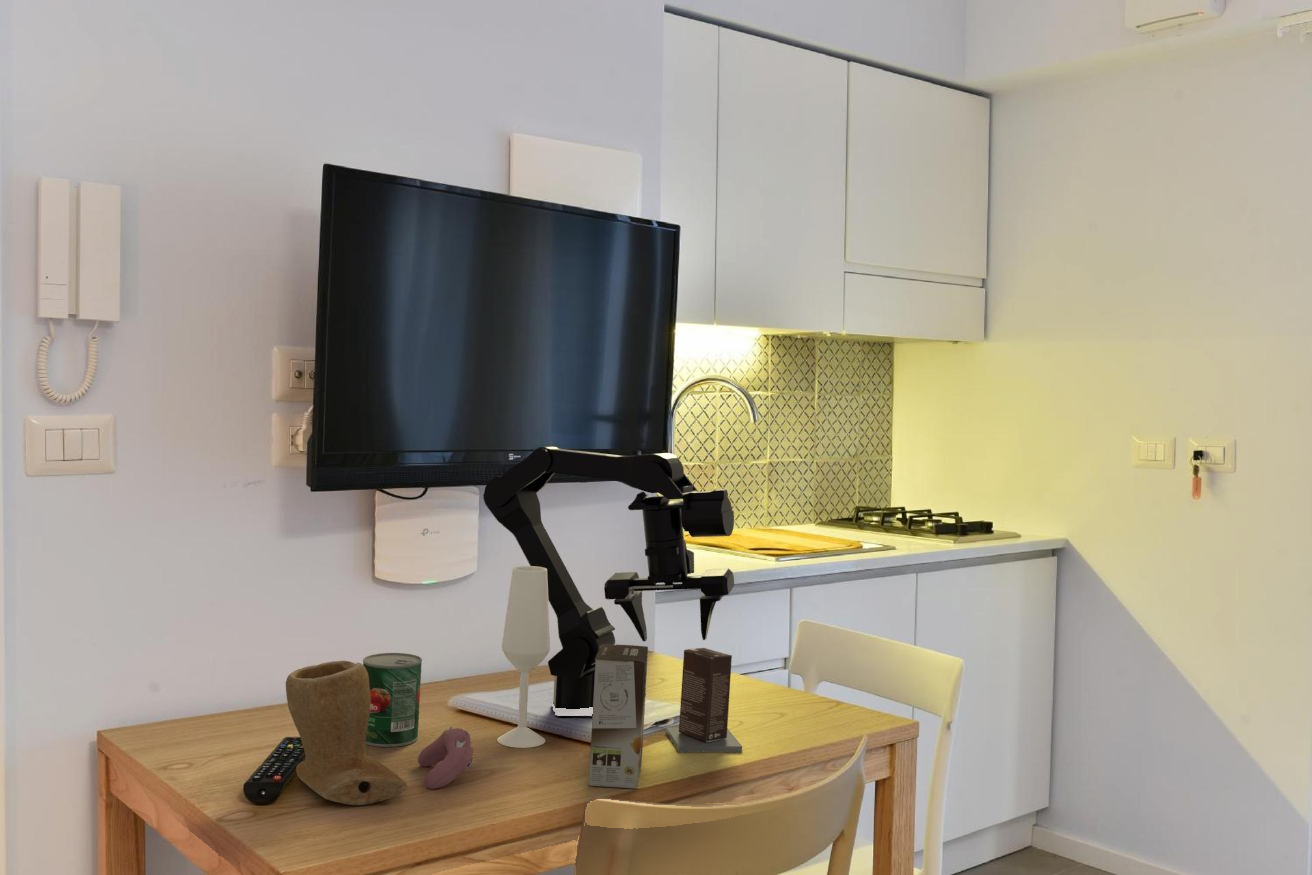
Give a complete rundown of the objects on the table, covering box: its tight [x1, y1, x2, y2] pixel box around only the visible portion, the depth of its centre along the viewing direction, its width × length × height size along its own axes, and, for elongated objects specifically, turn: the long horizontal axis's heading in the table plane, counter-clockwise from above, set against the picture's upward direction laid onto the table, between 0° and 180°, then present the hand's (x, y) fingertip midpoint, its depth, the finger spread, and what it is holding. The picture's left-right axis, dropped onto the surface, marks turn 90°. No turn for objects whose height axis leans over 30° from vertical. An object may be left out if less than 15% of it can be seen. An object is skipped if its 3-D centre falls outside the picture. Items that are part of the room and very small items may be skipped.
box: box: [678, 647, 733, 742], centre depth 162 cm, size 6×4×12 cm
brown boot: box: [285, 660, 408, 806], centre depth 135 cm, size 15×12×15 cm
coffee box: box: [588, 644, 649, 790], centre depth 145 cm, size 9×6×16 cm
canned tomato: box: [362, 652, 423, 748], centre depth 156 cm, size 8×8×11 cm
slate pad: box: [665, 726, 743, 753], centre depth 162 cm, size 9×9×1 cm
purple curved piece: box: [417, 726, 474, 790], centre depth 142 cm, size 10×5×7 cm, turn 17°
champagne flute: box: [496, 565, 551, 749], centre depth 158 cm, size 7×7×24 cm
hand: (674, 639), depth 170 cm, fingers open, 9 cm apart
